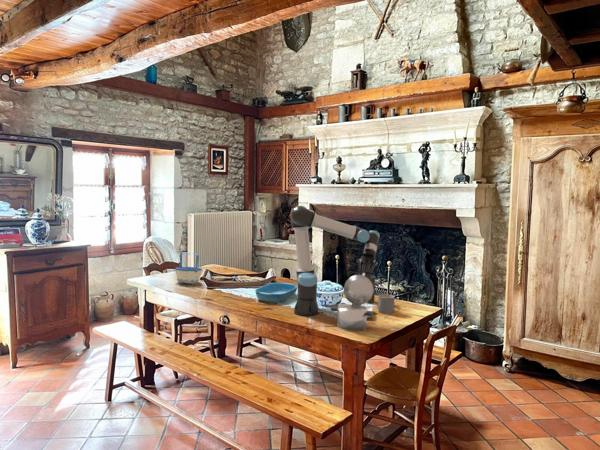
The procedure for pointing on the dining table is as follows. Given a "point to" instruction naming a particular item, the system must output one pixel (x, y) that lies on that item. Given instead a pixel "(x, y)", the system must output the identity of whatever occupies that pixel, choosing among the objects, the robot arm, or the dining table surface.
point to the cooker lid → (358, 290)
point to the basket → (188, 272)
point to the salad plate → (363, 306)
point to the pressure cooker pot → (352, 317)
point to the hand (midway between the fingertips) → (362, 283)
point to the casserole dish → (276, 292)
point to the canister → (372, 279)
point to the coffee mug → (386, 304)
